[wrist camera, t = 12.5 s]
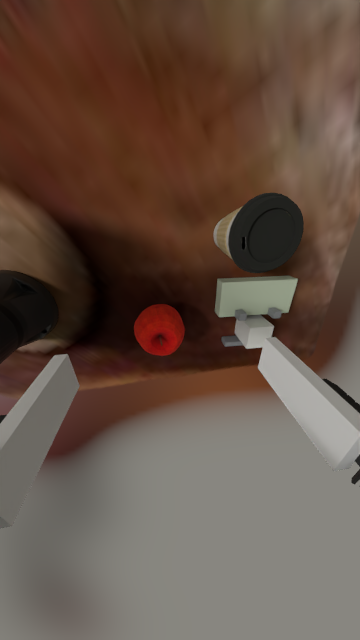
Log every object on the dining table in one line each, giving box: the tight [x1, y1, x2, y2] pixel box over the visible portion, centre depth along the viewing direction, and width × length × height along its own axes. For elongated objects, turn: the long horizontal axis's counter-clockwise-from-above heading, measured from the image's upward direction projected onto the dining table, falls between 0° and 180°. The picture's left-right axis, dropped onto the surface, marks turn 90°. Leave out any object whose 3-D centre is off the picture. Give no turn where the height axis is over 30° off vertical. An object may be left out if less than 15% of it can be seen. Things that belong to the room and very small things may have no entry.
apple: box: [134, 304, 185, 356], centre depth 37 cm, size 10×10×12 cm
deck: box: [215, 276, 298, 347], centre depth 42 cm, size 17×17×6 cm
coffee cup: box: [214, 193, 304, 273], centre depth 29 cm, size 10×10×15 cm
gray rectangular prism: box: [235, 314, 274, 349], centre depth 43 cm, size 6×6×7 cm
